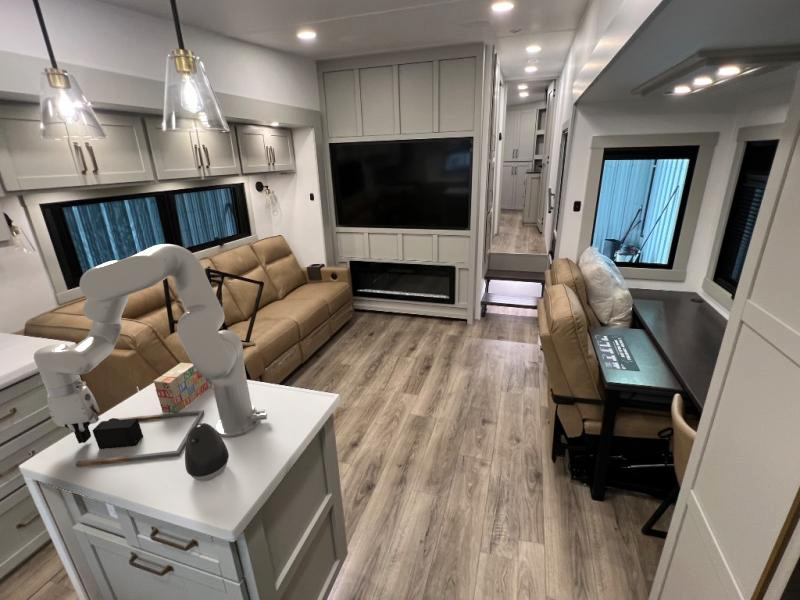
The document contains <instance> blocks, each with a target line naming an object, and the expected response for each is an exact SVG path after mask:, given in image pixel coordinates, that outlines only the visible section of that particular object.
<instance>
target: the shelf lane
mask: <svg viewBox="0 0 800 600" xmlns="http://www.w3.org/2000/svg"><path fill="white" fill-rule="evenodd" d="M162 414H163V413H162ZM162 414H161V413H160V414H151V415H150V414H149V415H139V416H131V417H130V416H129V417H120V418H116V419H119V420H122V419H133V418H138V421H139V422H146V421H147V422H148V421H157V420H163V419H162V417H161V416H162ZM132 455H133V454H132ZM132 455H125V456H123V455H122V456H114V457H105V458H97V459H96V458H95V459H86V460H85V459H84V460H78V461H76V462H75V466H76V468H81V466H84V467H92V466H100V465H101V466H102V465H109V464H119V463H129V462H132V461H131V460H130V457H131V456H132Z"/></svg>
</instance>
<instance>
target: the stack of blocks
mask: <svg viewBox="0 0 800 600" xmlns="http://www.w3.org/2000/svg"><path fill="white" fill-rule="evenodd" d="M153 384H154V387H155V392H156V396H157V397H158V400H159V404H160V408H161V412H163V413H168V414H169V413H180V412H182V411H183V410H184V409H185V407H186V406H187V405H188V406H189V405H190V404H192V403H193V402H194V401H196V400H197V399H198V398H199V397H200V396H202V394H203V393H205V392H206V391H207V390H208V389H210V388H211V387H213V385H212V381H211V380H210V379H207V378H204V377H203V376H201V375H200V374H199V373H198V372H197V370H196V369H195V367H194V366H193V364H192V362H191V363H190V362H189V363H188V362H179V363H177V365H175V366H174V367H172V368H171V369H169V370H168V371H167V372H165V373H164V374H162V375H161V376H159V377H157V378H156V379H154V380H153ZM204 391H205V392H204ZM199 395H200V396H199ZM198 396H199V397H198ZM196 398H197V399H196ZM191 402H192V403H191ZM188 406H187V407H188ZM187 407H186V408H187ZM182 409H183V410H182ZM181 410H182V411H181Z"/></svg>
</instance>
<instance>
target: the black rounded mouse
mask: <svg viewBox="0 0 800 600" xmlns="http://www.w3.org/2000/svg"><path fill="white" fill-rule="evenodd" d="M229 455H230V453H229V450H228V448H227V446H226V444H225V441H224V439H223V438H222V436H221V435H219V434H218V432H217V429H215V428H214V426H212V425H211V424H208V423H206V422H201V423H200V422H199V424H197V425H195V426H194V427H193V428H192V429H191V430H190V432H189V434H188V437H187V440H186V446H185V448H184V463H185V464H184V465H185V470H186V473H187V475H189V476H191V478H193V479H194V480H196V481H199V482H207V481H211V480H213V479H215V478H217V477H219V476H220V475H221V474H222V473H223V472H224V471H225V469H226V467H227V465H228V461H229Z"/></svg>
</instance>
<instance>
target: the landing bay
mask: <svg viewBox="0 0 800 600" xmlns="http://www.w3.org/2000/svg"><path fill="white" fill-rule="evenodd" d="M204 413H206V412H205V410H204V409H201V410H193V411H192V410H191V411H183V412H182V411H180V412H179V413H169V412H168V413H162V416H161V417H162V419H161V420H166V419H177V418H187V417H188V416H189V417H196V418H195V420H194V421H193V423H192V424H191V426H190V427H189V430H188V431H187V433H186V434H185V436H184V438H183V439H182V441H181V443H180V444H179V446H178V448H177V449H176V450H169V451H161V452H153V453H150V452H149V453H142V454H141V453H140V454H132V456H131V455H130V456H131V457H130V460H131V461H130V462H137V461H138V462H139V461H146V460H157V459H158V460H159V459H166V458H174V457H180V456H181V455H182V453H183V451H185V447H186V440H187V437H188V434H189V432H190V430H191V429H192V428H193V427H194V426H195V425H197V424H200V422H201V420H202V419H203V417H204V415H205V414H204ZM189 417H188V418H189Z"/></svg>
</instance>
